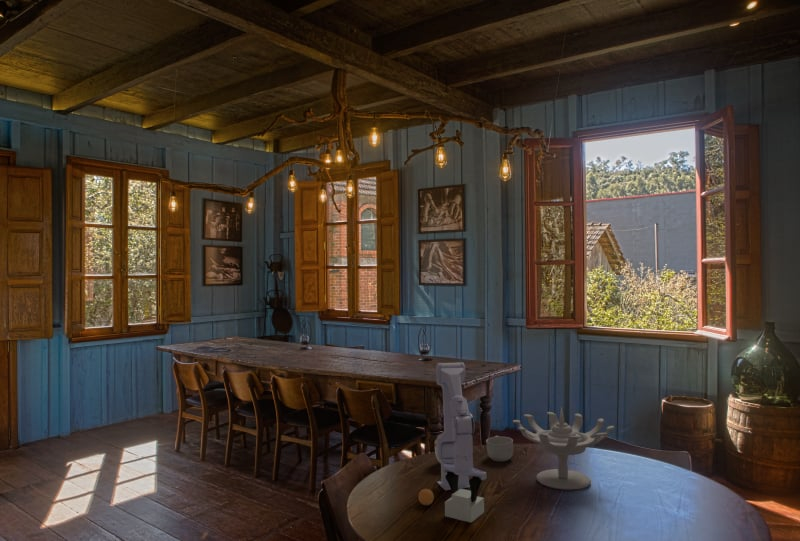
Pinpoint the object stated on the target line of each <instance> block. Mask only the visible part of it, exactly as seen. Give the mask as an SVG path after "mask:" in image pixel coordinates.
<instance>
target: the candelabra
mask: <svg viewBox="0 0 800 541" xmlns="http://www.w3.org/2000/svg"><path fill="white" fill-rule="evenodd" d="M546 415H548V422H549V429H546V430H545V429H543V428H541V427H540V426H539V425H538V424H537V423H536V421H535V419H534V415H531V414H528V413H527V414H526V413H525V414H523V415H522V416H523V417H524V418H527V421H528V424H529V426H530V427H531V428H532V429H533V431H534V432H535V433H534V432H532V431H529V430H528V429H527V428H525V427H523V425H522V424H521V420H519V419H514V420H512V423H514V424H518V427H517V428H518V430H519V431H520V432H521V434H522V436H523V437H524V438H526V439H528V440H529V441H531V442H534V443H536V444H538V445H539V447H540V449H541V451H544V452H546V453H548V454H552V455H556V456H557V460H558V465H557V466H558V467H557V468H554V469H551V468H550V469H545V470H542V471H540V472H539V473H537V474H536V477H535V478H536V480H537V481H538V483H539V484H541V485H543V486H546V487H547V488H551V489H556V490H564V491H576V490H582V489H584V488H588V486H590V485H591V482H592V479H591V478H590V477H589V476H588V475H586V474H585V473H582V472H579V471H577V470H572V469H569V466H568V459H569V456H575V455H576V456H577V455H581V454H582V453H584V452H585V451H586V448H589V447H592V446H594V445H596V444H598V443H600V441H602V440H604V439H606V438H607V437H608V435H609V434H610V432H609V431H612V430H614V429H615V426H614V425H609V426H606V431H605V432H601V431H602V428H603V423H605V422H604V421H605V419H604V418H598V419H597V421H596V425H595V427H593V428H592V429H591V430H589V431H587V432H585V433H584V432H580V431H581V428H582V427H583V422H584V419H583V415H582V414H580V413H574V421H573V424H572V426H571V425H569V424H568V423H567V422H565V418H564V413H563V407H562V406H560V413H559V418H558V414H556V413H555V412H552V411H547V412H546Z"/></svg>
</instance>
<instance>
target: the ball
mask: <svg viewBox="0 0 800 541" xmlns="http://www.w3.org/2000/svg"><path fill="white" fill-rule="evenodd" d="M434 495H435V494H434V493H433V491H432V490H431V489H428V488H423V489H421V490H420V491H419V493H418V501H419V503H420V504H421V505H422V506H429V505H431V504H432V503H433V502H434V498H435V496H434Z"/></svg>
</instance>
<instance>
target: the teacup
mask: <svg viewBox="0 0 800 541" xmlns="http://www.w3.org/2000/svg"><path fill="white" fill-rule="evenodd" d="M485 443H486V452H487V456H488V457H489V458H490V459H491V460H492V461H495V462H499V463H503V462H507V461H509V460H510V459H511V458H512V457H513V455H514V439H513V438H511V437H508V436H499V435H495V436H492V437H489V438H487V439H486V440H485Z"/></svg>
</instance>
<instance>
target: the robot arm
mask: <svg viewBox="0 0 800 541" xmlns="http://www.w3.org/2000/svg"><path fill="white" fill-rule="evenodd" d="M466 370H467V369H466V364H465V363H464V362H463V361H461V362H437V364H436V365H435V381H436V384H437V385H438V386H441V390H442V403H443V404H442V405H443V406H442V407H443V410H442V411H443V432H441V434H438V436H437V437H436V440H437V444H436V453H437V457H436V459H437V458H438V459H439V460H441V463H440V480H438V481H436V482H437V484H438V485H439V486H440V487H441V488H442V489H443V490H444V491H451V495H452V494H453V493H455V492H456V491H458V490H459V489H465V488H470V491H471V502H474V501H476V498H477V496H478V493H479V489H480V487H481V484H482V482H483V481H485V480H487V472H486V471H482V470H481V469H478V468H476V467H474V456H473V455H474V453H473V452H474V451H473V448H474V447H473V446H474V445H473V442H474V441H473V435H474V434H475V420H474V416H473V414H472V413H471V412H470V408H469V405H468V401H467V400H468V399H467V398H466V397H464V396H463V389H462V384H463V382H465V381H464V380H465V379H466V376H467V375H466ZM445 441H449V442H445Z"/></svg>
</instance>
